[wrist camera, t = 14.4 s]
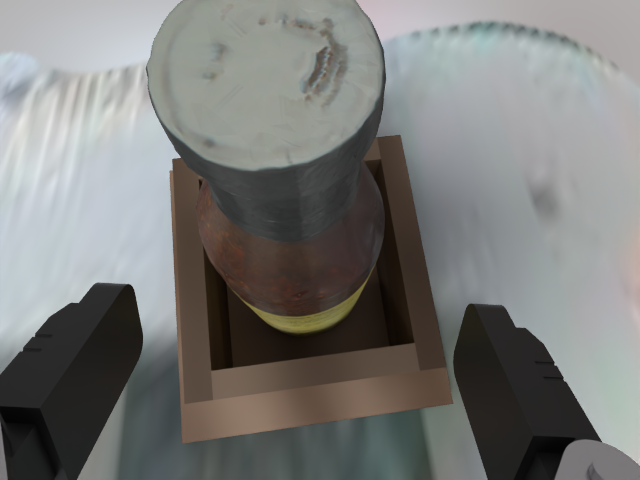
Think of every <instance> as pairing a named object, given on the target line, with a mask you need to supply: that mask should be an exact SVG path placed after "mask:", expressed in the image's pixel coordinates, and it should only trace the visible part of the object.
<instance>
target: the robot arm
mask: <svg viewBox="0 0 640 480" xmlns="http://www.w3.org/2000/svg"><path fill="white" fill-rule="evenodd" d="M142 345H143V332H142V327H141V322H140V317H139V312H138V307H137V302H136V296H135V292H134V289H133V287H132V286H131V285H130V284H114V283H96V284H94V285H93V286H92V287H91V288H90V290H89V291H88V292H87V294H86V295H85V296H84V297H83V299H82V300H81V301H80V302H79V303H70V304H68V305H67V306H65V307H64V308H62V309H61V310H59V311H58V312H56V313H55V314H53V315H52V316H50V317H49V318H48V319H47V321H46V322H45V323H44V324H43V325H42V326H41V328H40V329H39V330H38V331H37V332H36V333H35V337H32V338H31V339H30V341H29V342H28V343H27V344H26V345H25V346H24V348H23V351H22V352H19V353H18V355H17V356H16V357H15V358H14V359H13V360H12V362H11V363H10V364H9V365H8V366H7V367H6V369H5V370H4V371H3V372H2V373H1V375H0V480H77V478H78V476H79V474H80V472H81V470H82V468H83V466H84V464H85V463H86V461H87V459H88V457H89V455H90V453H91V451H92V449H93V447H94V445H95V443H96V441H97V439H98V437H99V435H100V433H101V432H102V430H103V428H104V426H105V424H106V422H107V420H108V418H109V416H110V414H111V412H112V410H113V408H114V406H115V404H116V402H117V401H118V399H119V397H120V395H121V393H122V391H123V389H124V387H125V385H126V383H127V381H128V379H129V377H130V375H131V373H132V371H133V370H134V368H135V366H136V364H137V362H138V360H139V357H140V354H141V351H142ZM453 365H454V374H455V378H456V381H457V384H458V387H459V391H460V394H461V397H462V400H463V403H464V406H465V409H466V412H467V416H468V419H469V422H470V425H471V428H472V431H473V434H474V437H475V441H476V444H477V447H478V450H479V453H480V456H481V459H482V463H483V466H484V469H485V472H486V475H487V478H488V480H640V466H639V465H638V464H637V463H636V462H635V461H634V460H632V459H631V458H630V457H629V456H627V455H626V454H624V453H623V452H621V451H620V450H618V449H616V448H614V447H612V446H610V445H608V444H605V443H602V441H601V439H600V438H599V436H598V434H597V433H596V431H595V429H594V428H593V426H592V424H591V423H590V421H589V419H588V418H587V416H586V414H585V413H584V411H583V409H582V408H581V406H580V404H579V403H578V401H577V399H576V398H575V396H574V394H573V393H572V391H571V389H570V388H569V386H568V384H567V383H566V382H564V380H563V378H564V377H563V376H562V374H561V372H560V371H559V369H558V367H557V366H555V365H554V361H553V359H552V357H551V356H550V354H549V352H548V351H547V349H546V347H545V346H544V344H543V343H542V342H541V341H539V340H538V339H537V338H536V337H535V336H534V335H533V334H532V333H530V332H529V331H528V330H527V329H526V328H516V327H515V325H514V323H513V321H512V319H511V318H510V316H509V314H508V312H507V310H506V309H505V307H504V306H502V305H488V304H469V305H468V306H467V308H466V311H465V314H464V318H463V321H462V325H461V329H460V332H459V336H458V340H457V343H456V347H455V351H454V359H453Z"/></svg>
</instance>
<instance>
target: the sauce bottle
mask: <svg viewBox="0 0 640 480" xmlns="http://www.w3.org/2000/svg"><path fill="white" fill-rule="evenodd" d="M146 72H147V76H148V90H149V95H150V99H151V103H152V106H153V108H154V110H155V113H156V115H157V117H158V119H159V121H160V123H161V125H162V127H163V129H164V130H165V132H166V134H167V136H168V138H169V140H170V141H171V142H172V144H173V145H174V148H175V150H176V152H177V153H178V154H179V155H180V157H181V158H182V160H183V161H184V163H185V164H186V165H187V167H188V168H189V169H191V170H192V171H194V172H195V173H196V174H198V175H199V176H201V177H203V178H204V180H203V183H202V186H201V188H200V192H199V197H198V199H197V203H196V208H195V213H196V216H197V222H198V226H199V234H200V236H201V240H202V244H203V245H204V248H205V251H206V253H207V255H208V258H209V260H210V261H211V263H212V264H213V266H214V267H215V269H216V270H217V272H218V273H219V274H220V275H221V276H222V278H223V279H224V280H225V281H226V283H227V284H228V286H229V287H230V288H231V290H232V291H233V292H234V293H235V294H237V295H238V296H239V297H240V299H241V300H242V301H244V302H245V303H246V304H247V305H248V306H249V307H250V308H251V309H252V310H253V311H254V312H255V313H256V314H257V315H258V316H259V317H261V318H262V319H263V320H264V321H265V322H266V323H268V324H269V325H270V326H272V327H273V328H275V329H277V330H278V331H280V332H283V333H286V334H288V335H293V336H297V337H305V336H312V335H317V334H321V333H324V332H326V331H328V330H331V329H333V328H334V327H336V326H337V325H338V324H339V323H341V322H342V321H343V320H344V319H345V318H346V317H347V316H348V315H349V313H350V312H351V311H352V309H353V307H354V306H355V304H356V302H357V300H358V298H359V296H360V294H361V292H362V290H363V288H364V286H365V284H366V282H367V280H368V278H369V276H370V274H371V272H372V270H373V268H374V266H375V264H376V261H377V259H378V256H379V253H380V250H381V246H382V242H383V237H384V229H385V212H384V206H383V200H382V197H381V193H380V191H379V188H378V186H377V183H376V182H375V180H374V178H373V176H372V174H371V172H370V171H369V169H368V167H367V165H366V164H365V162H364V160H363V158H364V156H365V155H366V153H367V151H368V150H369V149H370V147H371V145H372V143H373V141H374V139H375V137H376V134H377V131H378V127H379V124H380V120H381V115H382V110H383V101H384V98H383V97H384V89H385V82H386V73H385V61H384V50H383V47H382V45H381V42H380V40H379V37H378V34H377V32H376V30H375V28H374V26H373V24H372V22H371V20H370V18H369V17H368V16H367V15H366V14H365V13H364V12H363V10H362V9H361V8H360V6H359V5H358V3H357V2H356V0H183V1H181V2H180V3H179V4H178V5H177V6H176V7H175V8H174V9H173V10H172V11H171V12H170V13H169V15H168V16H167V18H166V19H165V20H164V22H163V24H162V26H161V28H160V30H159V32H158V33H157V35H156V37H155V38H154V41H153V45H152V50H151V56H150V59H149V61H148V63H147V66H146Z"/></svg>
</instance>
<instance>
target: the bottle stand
mask: <svg viewBox="0 0 640 480" xmlns="http://www.w3.org/2000/svg"><path fill="white" fill-rule="evenodd" d="M363 160H364V162H365V164H366V165H367V167H368V169H369V171H370V172H371V174H372V176H373V178H374V180H375V182H376V183H377V186H378V188H379V191H380V193H381V197H382V200H383V206H384V212H385V229H384V237H383V242H382V246H381V250H380V253H379V256H378V259H377V261H376V264H375V266H374V268H373V270H372V272H371V274H370V276H369V278H368V280H367V282H366V284H365V286H364V288H363V290H362V292H361V294H360V296H359V298H358V300H357V302H356V304H355V306H354V307H353V309H352V311H351V312H350V313H349V315H348V316H347V317H346V318H345V319H344V320H343V321H342V322H341V323H339V324H338V325H337V326H336V327H334V328H333V329H331V330H328V331H326V332H324V333H321V334H317V335H312V336H305V337H297V336H293V335H288V334H286V333H283V332H280V331H278V330H277V329H275V328H273V327H272V326H270V325H269V324H268V323H266V322H265V321H264V320H263V319H262V318H261V317H259V316H258V315H257V314H256V313H255V312H254V311H253V310H252V309H251V308H250V307H249V306H248V305H247V304H246V303H245V302H244V301H242V300H241V299H240V297H239V296H238V295H237V294H235V293H234V292H233V291H232V290H231V288H230V287H229V286H228V284H227V283H226V281H225V280H224V279H223V278H222V276H221V275H220V274H219V273H218V272H217V270H216V269H215V267H214V266H213V264H212V263H211V261H210V260H209V258H208V255H207V253H206V251H205V248H204V245H203V244H202V240H201V236H200V234H199V226H198V222H197V216H196V213H195V208H196V203H197V199H198V197H199V192H200V188H201V186H202V183H203V180H204V178H203V177H201V176H199V175H198V174H196V173H195V172H194V171H192V170H191V169H189V168H188V167H187V165H186V164H185V163H184V161H183V160H182V158H177V159H172V162H173V171H170V190H171V211H172V232H173V253H174V275H175V296H176V317H177V338H178V359H179V380H180V401H181V422H182V443H189V442H195V441H202V440H209V439H216V438H223V437H229V436H236V435H243V434H250V433H257V432H263V431H270V430H277V429H284V428H291V427H298V426H304V425H311V424H318V423H325V422H332V421H338V420H345V419H352V418H359V417H366V416H372V415H379V414H386V413H393V412H400V411H406V410H413V409H420V408H427V407H434V406H440V405H447V404H453V400H452V395H451V390H450V385H449V380H448V375H447V370H446V362H445V357H444V352H443V347H442V342H441V337H440V332H439V327H438V322H437V317H436V312H435V307H434V302H433V297H432V292H431V287H430V282H429V277H428V272H427V267H426V262H425V256H424V251H423V246H422V241H421V236H420V231H419V226H418V221H417V216H416V211H415V206H414V201H413V196H412V191H411V186H410V181H409V176H408V171H407V166H406V161H405V156H404V151H403V146H402V141H401V136H400V135H395V136H385V137H376V138H375V139H374V141H373V143H372V145H371V147H370V149H369V150H368V151H367V153H366V155H365V156H364V158H363Z"/></svg>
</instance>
